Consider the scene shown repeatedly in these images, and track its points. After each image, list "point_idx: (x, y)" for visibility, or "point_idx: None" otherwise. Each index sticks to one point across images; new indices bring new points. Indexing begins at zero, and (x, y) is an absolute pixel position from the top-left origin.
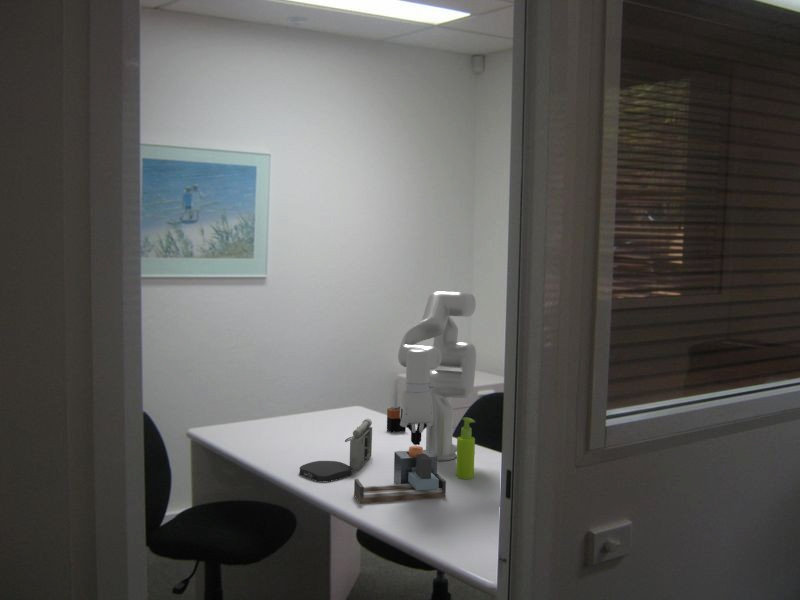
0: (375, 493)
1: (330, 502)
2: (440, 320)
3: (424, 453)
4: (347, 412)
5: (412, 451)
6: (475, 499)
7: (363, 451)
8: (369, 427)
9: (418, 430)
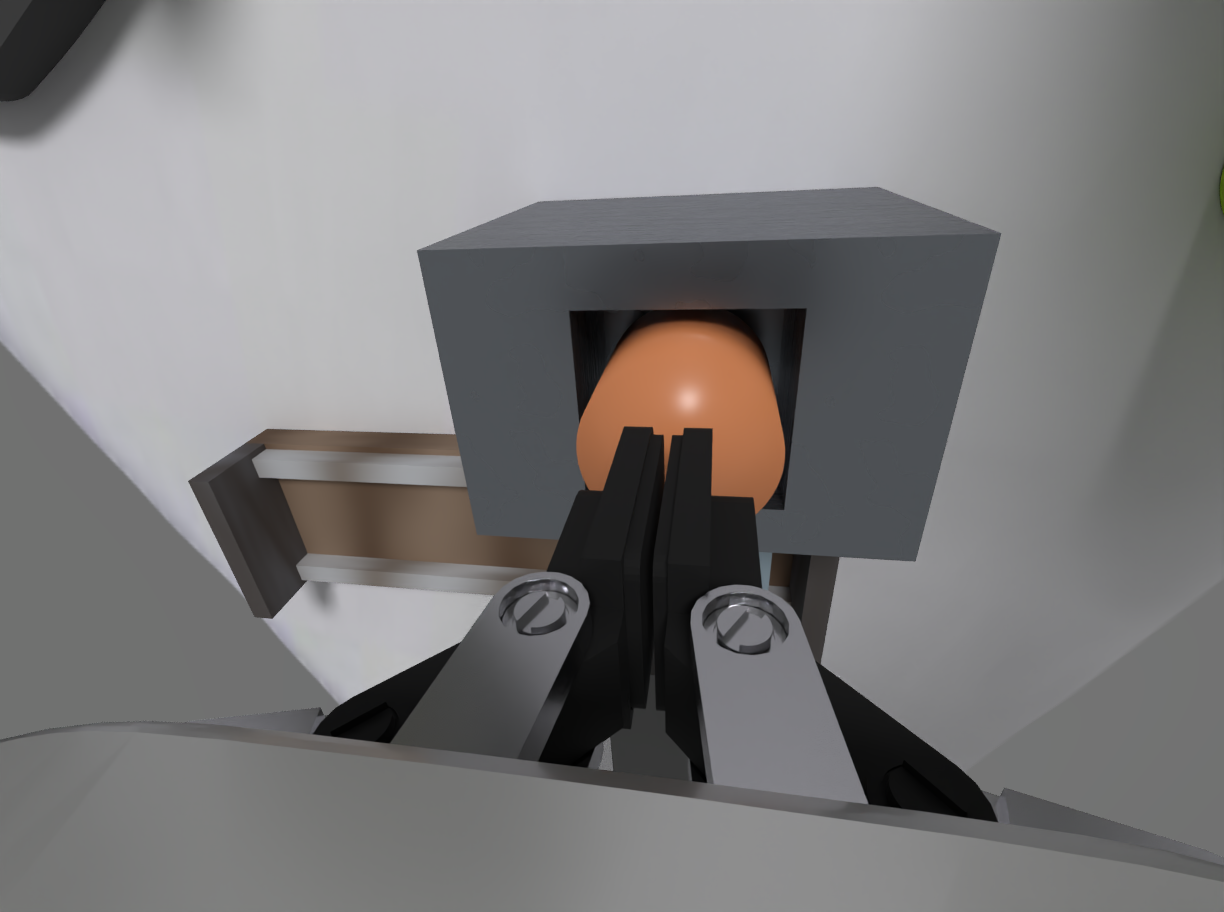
0: (365, 579)
1: (169, 504)
2: None
3: (808, 421)
4: None
5: None
6: (969, 657)
7: None
8: None
9: (678, 740)
